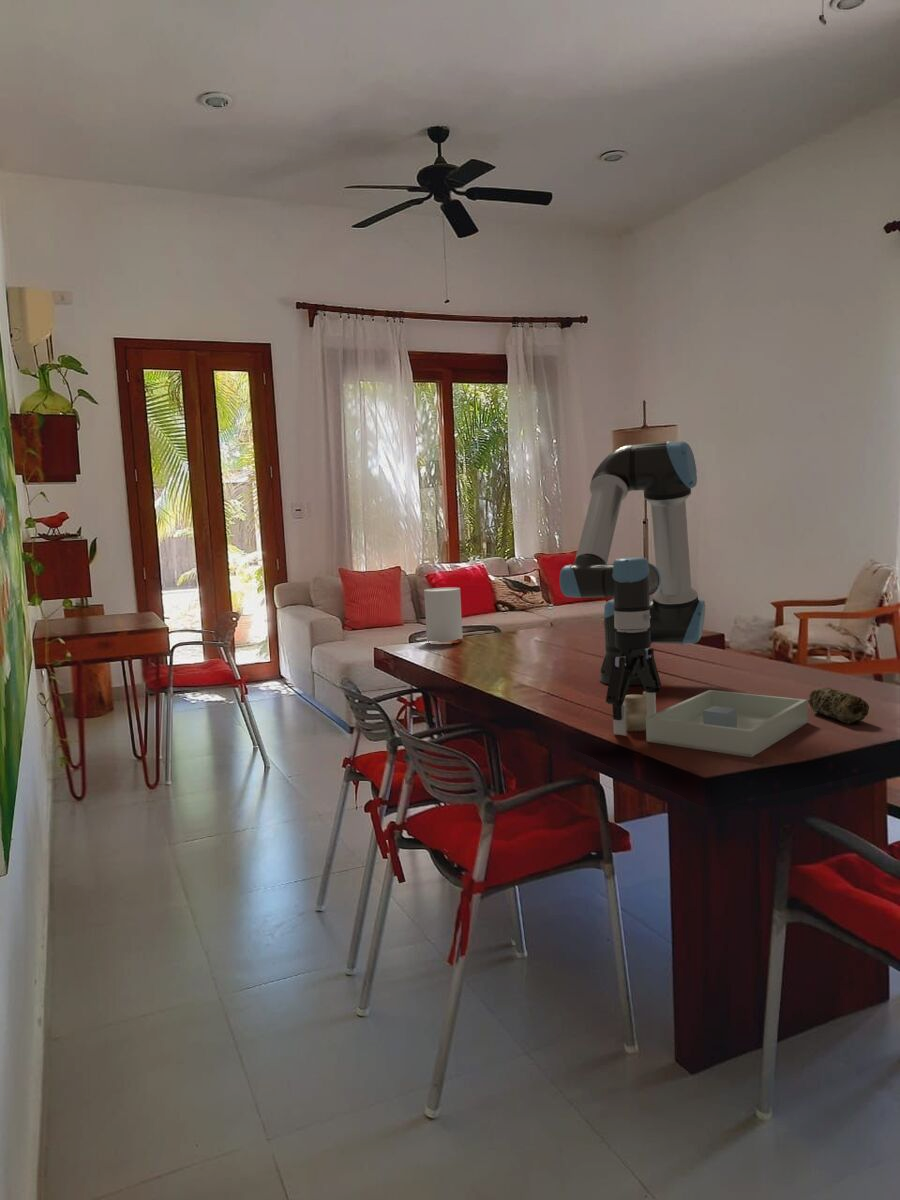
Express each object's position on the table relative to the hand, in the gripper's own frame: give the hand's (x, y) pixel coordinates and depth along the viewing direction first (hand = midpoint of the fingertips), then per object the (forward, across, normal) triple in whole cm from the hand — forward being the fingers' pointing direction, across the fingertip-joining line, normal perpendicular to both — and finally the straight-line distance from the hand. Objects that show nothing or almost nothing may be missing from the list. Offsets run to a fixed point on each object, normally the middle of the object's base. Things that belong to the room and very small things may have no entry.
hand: (635, 727), depth 188 cm
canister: (0, +76, +123) cm, 145 cm away
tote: (0, +7, -18) cm, 19 cm away
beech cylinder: (0, 0, 0) cm, 0 cm away
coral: (0, +29, -33) cm, 44 cm away
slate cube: (0, +3, -18) cm, 18 cm away
